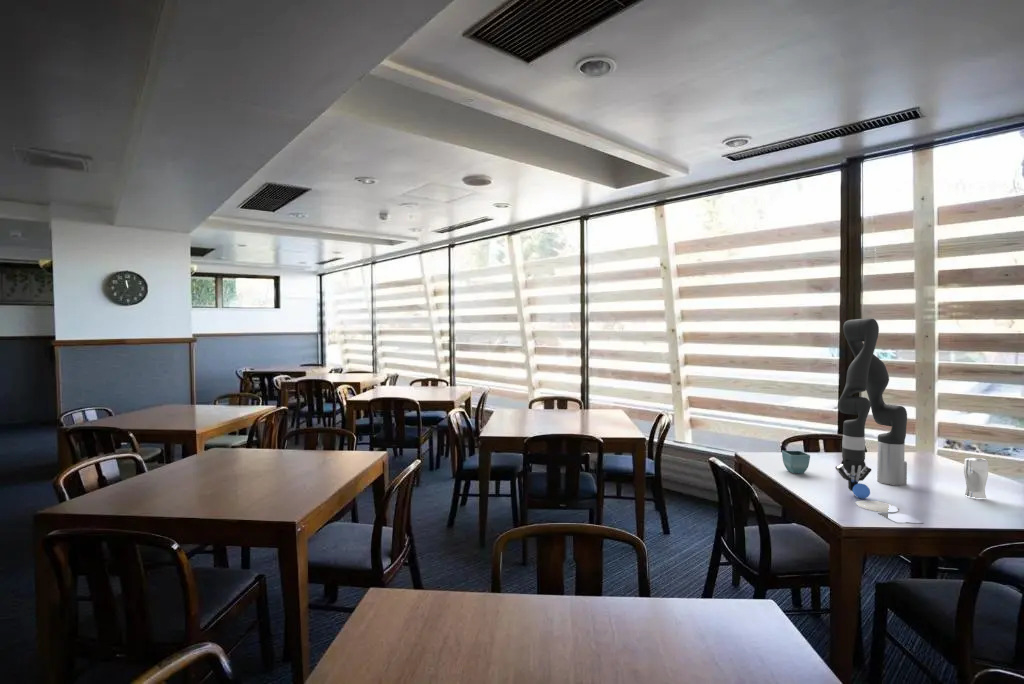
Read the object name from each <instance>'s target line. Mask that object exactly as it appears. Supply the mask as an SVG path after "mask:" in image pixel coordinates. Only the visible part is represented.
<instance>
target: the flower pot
mask: <svg viewBox="0 0 1024 684" xmlns="http://www.w3.org/2000/svg"><path fill="white" fill-rule="evenodd" d="M781 455H782V457H781V458H782V462H783V465H784V467H785V469H786V470H787V472H790V473H791V472H792V474H804V473H805V472H807V470H808V468H809V466H810V459H811V455H810V454H808V453H807V452H804V451H802V450H781Z"/></svg>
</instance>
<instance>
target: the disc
mask: <svg viewBox="0 0 1024 684" xmlns="http://www.w3.org/2000/svg"><path fill="white" fill-rule="evenodd" d="M855 503H859V504H857V505H859V506H860V507H859V506H858V507H859V508H861V507H863V508H862V509H864V508H865V509H864V510H867V509H869V510H868V511H871V510H872V511H871V512H876V511H878V513H883V512H888V510H889V509H888V508H889V504H890V503H885V502H883V501H877V500H869V499H864V500H863V499H862V500H861V499H860V500H857V501H855ZM857 505H856V506H857ZM864 505H865V506H864ZM890 505H891V506H892V505H893V504H890Z"/></svg>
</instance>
